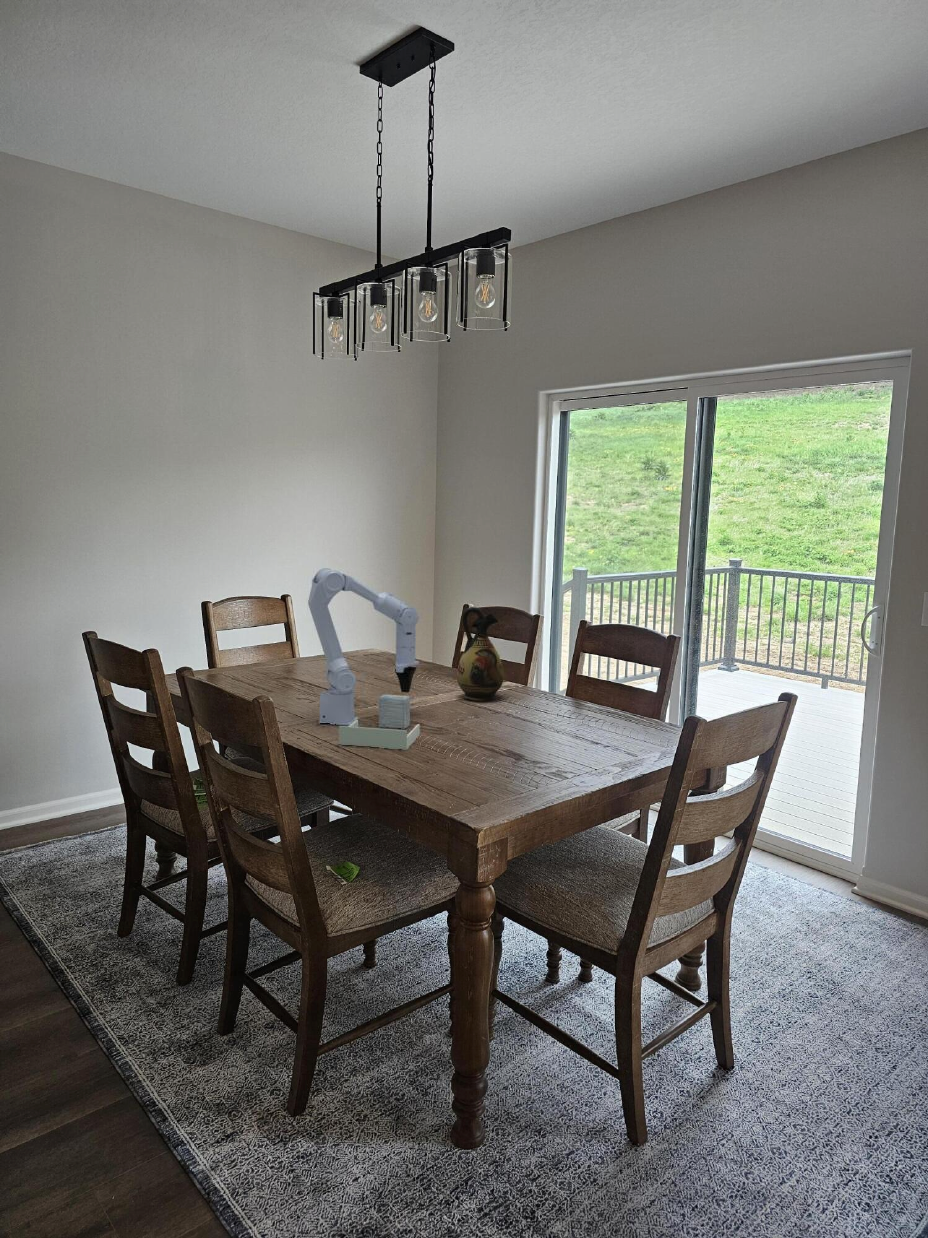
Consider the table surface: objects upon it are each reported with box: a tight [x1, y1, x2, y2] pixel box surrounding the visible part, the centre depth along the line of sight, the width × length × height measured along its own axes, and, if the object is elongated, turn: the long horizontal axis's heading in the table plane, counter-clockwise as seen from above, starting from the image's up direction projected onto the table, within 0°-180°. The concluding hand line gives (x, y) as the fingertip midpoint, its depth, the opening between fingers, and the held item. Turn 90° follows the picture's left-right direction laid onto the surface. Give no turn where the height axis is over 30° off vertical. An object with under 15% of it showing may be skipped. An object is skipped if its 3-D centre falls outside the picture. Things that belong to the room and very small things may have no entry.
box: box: [338, 719, 421, 751], centre depth 216 cm, size 18×15×5 cm
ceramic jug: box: [456, 606, 505, 703], centre depth 265 cm, size 17×15×30 cm
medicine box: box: [378, 694, 411, 730], centre depth 229 cm, size 8×4×9 cm, turn 74°
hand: (405, 692), depth 241 cm, fingers closed
